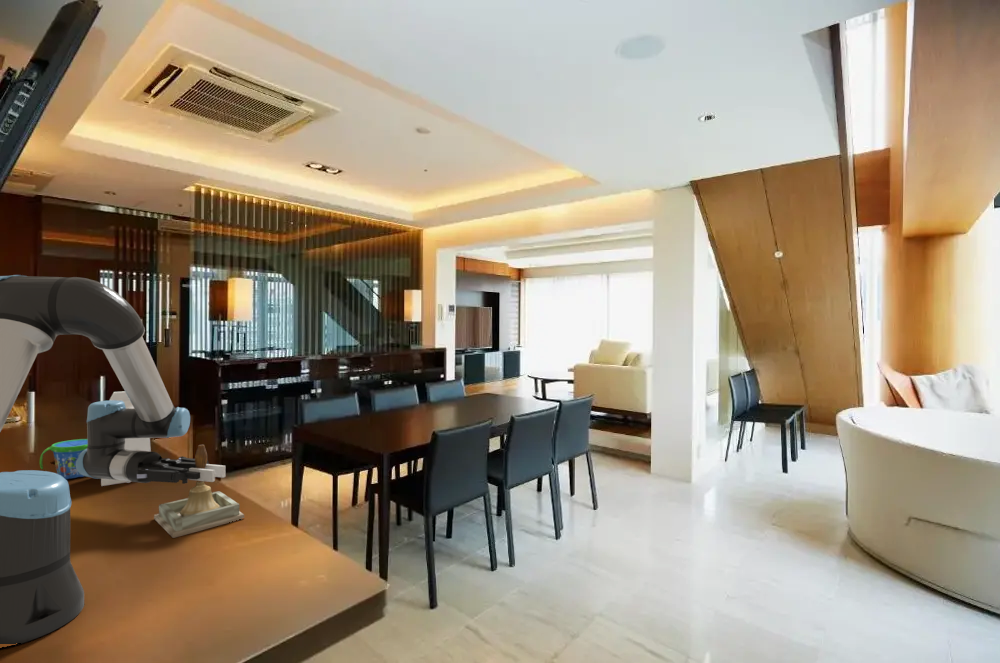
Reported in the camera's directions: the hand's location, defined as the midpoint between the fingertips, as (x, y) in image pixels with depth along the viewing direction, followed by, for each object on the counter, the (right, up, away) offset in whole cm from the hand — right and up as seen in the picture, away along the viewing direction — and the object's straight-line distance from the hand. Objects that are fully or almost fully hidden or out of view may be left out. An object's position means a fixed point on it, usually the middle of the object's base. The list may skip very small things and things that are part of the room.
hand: (218, 473), depth 119 cm
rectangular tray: (-6, -11, +1) cm, 13 cm away
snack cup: (-62, -10, +32) cm, 70 cm away
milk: (-46, -10, +31) cm, 56 cm away
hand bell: (-5, -10, +1) cm, 11 cm away
